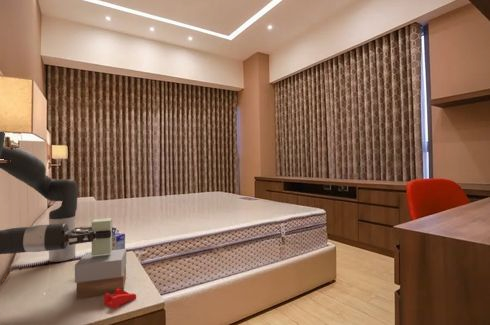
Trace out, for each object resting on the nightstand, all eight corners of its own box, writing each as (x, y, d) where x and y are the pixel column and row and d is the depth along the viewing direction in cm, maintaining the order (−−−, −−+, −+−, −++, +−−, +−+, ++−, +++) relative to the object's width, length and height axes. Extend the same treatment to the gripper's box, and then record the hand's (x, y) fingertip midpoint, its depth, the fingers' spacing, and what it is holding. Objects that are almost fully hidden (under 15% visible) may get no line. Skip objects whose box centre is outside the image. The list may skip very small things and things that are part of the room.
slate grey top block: (86, 268, 86) (86, 252, 86) (126, 263, 89) (126, 248, 90) (74, 282, 74) (74, 265, 74) (121, 276, 78) (121, 259, 78)
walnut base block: (85, 284, 85) (85, 268, 85) (126, 278, 89) (125, 263, 90) (76, 301, 74) (76, 283, 74) (123, 293, 78) (123, 276, 78)
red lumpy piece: (114, 310, 69) (114, 298, 69) (104, 305, 71) (104, 294, 71) (136, 299, 74) (136, 288, 74) (125, 295, 77) (125, 285, 77)
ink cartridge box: (126, 265, 101) (125, 227, 102) (116, 270, 96) (116, 230, 96) (103, 264, 103) (103, 226, 103) (92, 269, 98) (92, 229, 98)
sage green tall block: (94, 251, 83) (94, 219, 84) (112, 249, 85) (112, 218, 85) (91, 255, 79) (91, 222, 79) (110, 253, 80) (110, 220, 81)
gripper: (38, 229, 70) (109, 224, 77) (54, 220, 84) (114, 216, 90) (37, 257, 70) (109, 250, 76) (54, 244, 84) (114, 238, 90)
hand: (111, 231), depth 83 cm, fingers closed on sage green tall block, 5 cm apart
